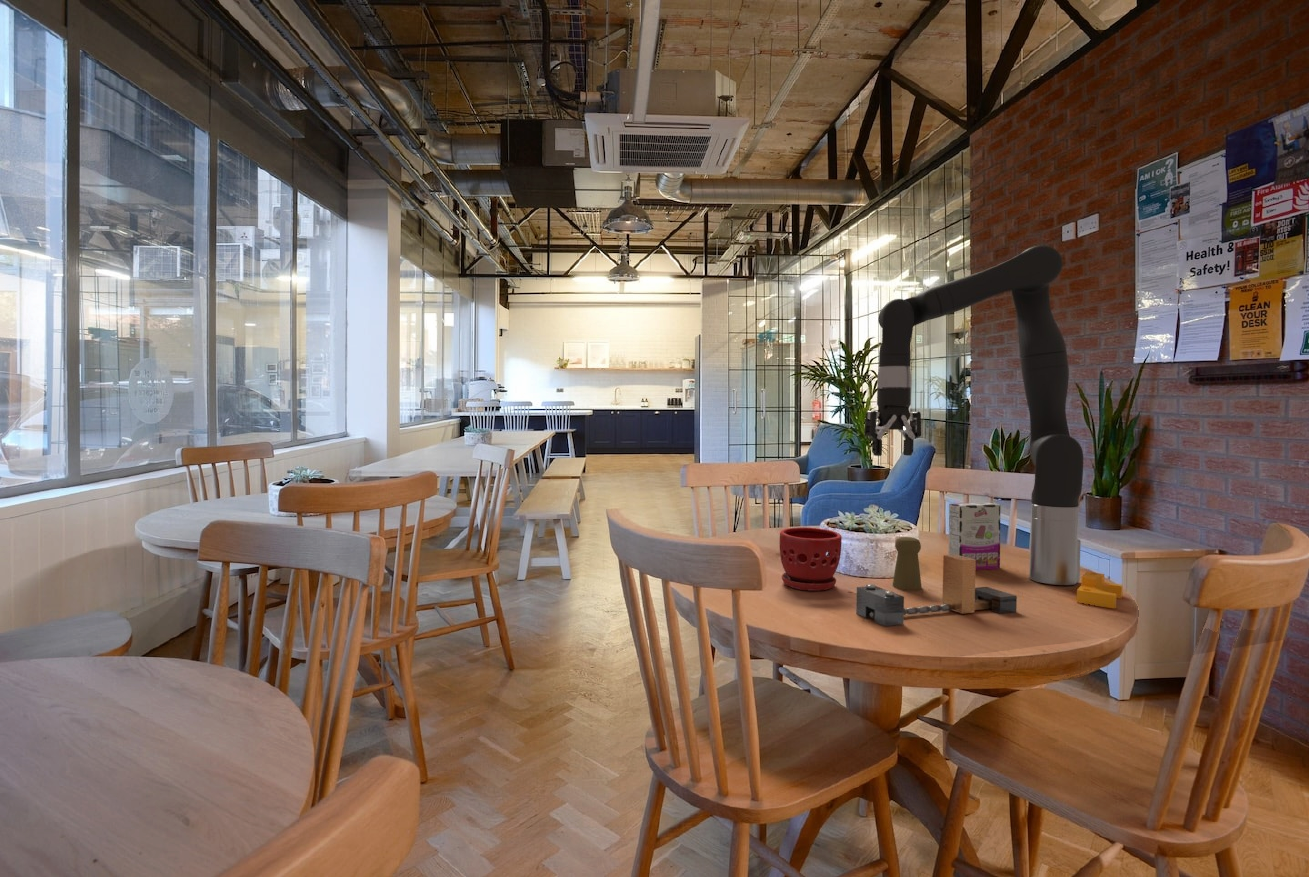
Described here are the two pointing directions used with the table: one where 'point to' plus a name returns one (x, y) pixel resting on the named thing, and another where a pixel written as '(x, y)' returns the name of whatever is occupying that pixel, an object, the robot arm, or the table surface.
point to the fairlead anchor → (880, 605)
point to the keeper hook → (997, 599)
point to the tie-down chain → (955, 588)
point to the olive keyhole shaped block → (907, 564)
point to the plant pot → (810, 557)
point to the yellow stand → (1098, 591)
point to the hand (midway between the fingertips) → (892, 455)
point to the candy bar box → (975, 533)
